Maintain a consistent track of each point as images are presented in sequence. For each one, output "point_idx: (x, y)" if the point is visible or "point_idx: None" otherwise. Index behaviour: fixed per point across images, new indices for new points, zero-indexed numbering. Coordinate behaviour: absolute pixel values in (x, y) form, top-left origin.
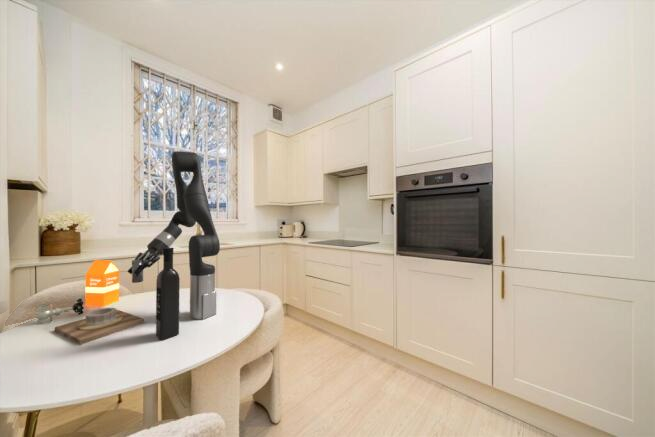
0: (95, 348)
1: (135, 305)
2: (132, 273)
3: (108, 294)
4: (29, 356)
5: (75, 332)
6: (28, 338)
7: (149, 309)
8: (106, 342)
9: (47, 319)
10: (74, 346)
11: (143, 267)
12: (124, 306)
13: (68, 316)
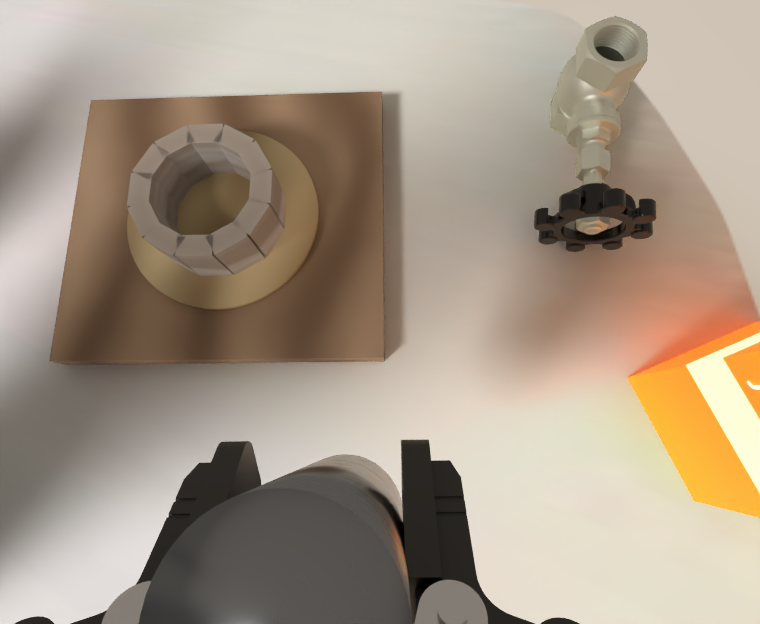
0: (9, 131)
1: None
2: (325, 463)
3: (696, 411)
4: (178, 6)
5: (206, 116)
6: (388, 38)
7: None
8: (21, 171)
9: (557, 105)
10: None
11: None
12: (493, 452)
13: None
